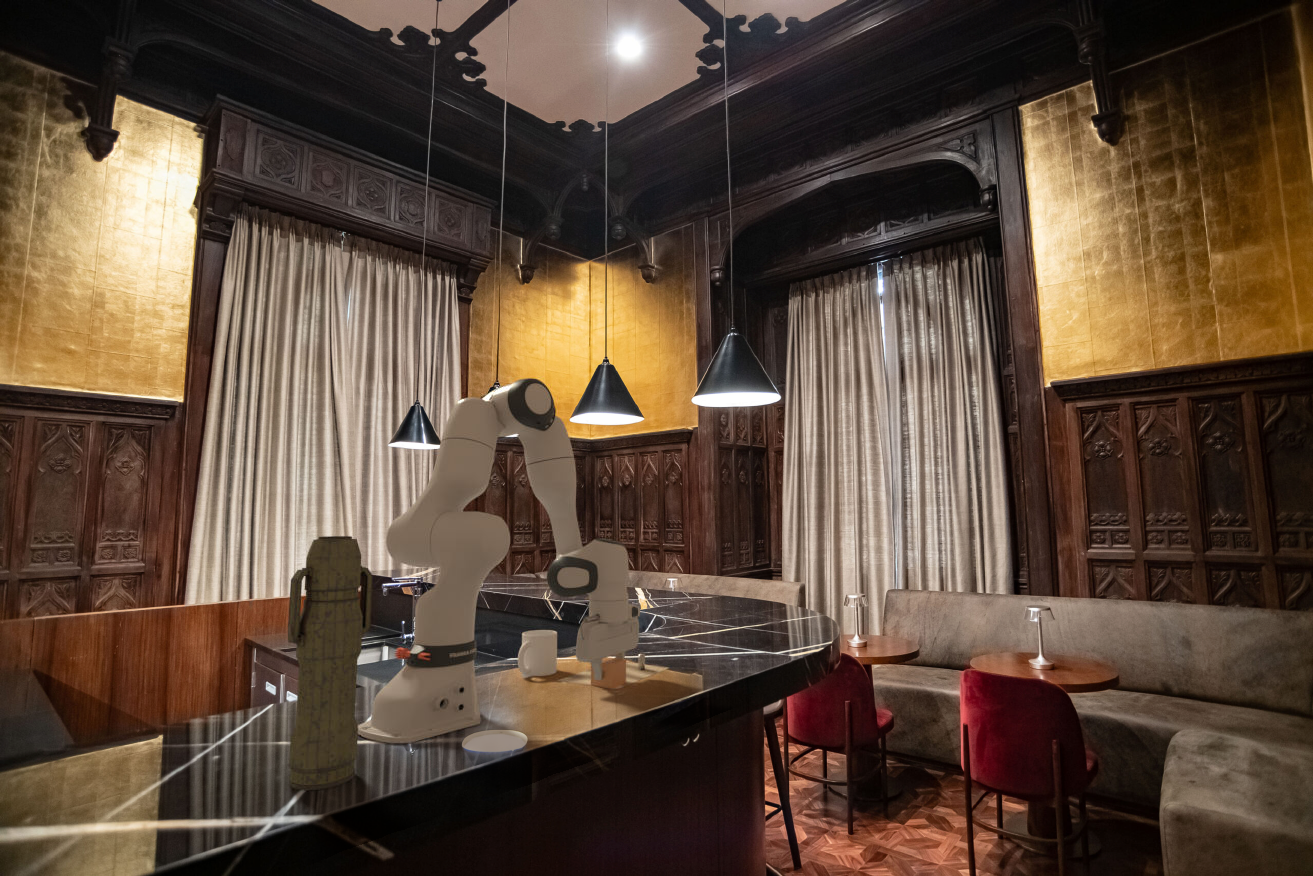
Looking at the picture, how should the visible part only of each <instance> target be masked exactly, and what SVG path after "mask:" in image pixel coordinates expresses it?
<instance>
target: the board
mask: <svg viewBox="0 0 1313 876" xmlns="http://www.w3.org/2000/svg"><path fill="white" fill-rule="evenodd" d="M665 670H670V667H666V666H657V665H651V664H650V665H649V664H645V670H638V663H634V662H627V661H626V683H625V684H622V685H620V686H617V687H615V688H608V689H611V690H615V691H616V690H619V689H621V688H623V687H626V686H628V685H631V684H634V683H636V682H638V681H640V680H643V679H646V678H649V677H651V676H653V675H656V674H658V673H661V672H663V671H665ZM556 682H562V683H569V684H575V685H576V684H577V685H583V686H589V687H593V686H592V685H591V668H590V669H587V670H583V671H581V672H578V673H575V674H572V675H570V676H566V677H562V678H561V679H558V680H556ZM594 687H597V688H600V687H599V686H594ZM601 688H603V689H607V688H606V687H601Z"/></svg>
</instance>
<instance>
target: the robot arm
mask: <svg viewBox="0 0 1313 876" xmlns="http://www.w3.org/2000/svg"><path fill="white" fill-rule="evenodd" d="M549 389H550V388H549V387H548V386H547V385H546V384H545V383H544V382H543V381H541V380H540V379H538V378H531V377H528V378H521V379H518V380H515V381H514V382H512V383H509V384H508V383H507V384H506V385H501V386H499V387H496V388H495V389H492V390H491V391H490V392H489V393H485V394H484V395H482V396H481V397H465V398H461V400H460V399H459V401H457V402H456V403H455V404H454V406H453V408H452V409H451V412H450V414H449V416H448V419H447V421H446V424H445V426H444V431H443V433H442V437H441V441H440V443H439V448H438V452H437V456H436V460H435V464H434V467H433V470H432V474H431V477H430V479H429V481H428V483H427V485H426V486H425V488H424V489H423V491H422V493H421V495H420V496H419V497H418V498H417V500H416V501H415V502H414V503H413V504H412V505H411V507H409V508H408V509H407V510H406V511H405V512H404V513H402V514H401V515H399V516H397V517H396V518H395V519H394V520H392V522H391V524H390V526H388V530H387V532H386V538H385V545H386V548H387V551H388V553H389V556H390V557H391V559H393V560H394V561H395V562H396V563H397V562H398V563H400V564H403V565H407V566H411V567H415V568H434V569H435V568H440V572H439V576H438V579H437V581H436V583H435V585H434V586H433V587H432V588H431V589H429V590H426V591H425V592H424V593H423V594H422V595H420V597H419V598H418V600H417V601H416V604H415V611H414V612H415V613H414V615H415V616H414V617H415V619H414V639H413V642H412V643H411V645H410V648H408V647H406V648H404V647H397V648H396V650H395V651H394V657H395V658H396V659H399V660H405V661H404V663H405V664H404V666H403V668H402V669H401V670H399V672H397V674H395V676H394V677H392V679H391V680H390V681H388V683H387V684H386V685H385V686H384V687H383V688H381V690H380V691H378V692H377V694H376V696H375V698H374V700H373V705H372V711H371V715H370V720H368V721H365V722H363V723H360V724H357V725H358V736H360V735H361V737H363V738H366V739H369V740H372V741H377V742H381V743H382V742H384V743H393V744H409V743H414V742H417V741H421V740H426V739H429V738H433V737H436V736H440V735H444V734H447V733H451V732H454V731H458V730H462V729H465V728H470V727H473V726H477V725H480V724H481V723H482V719H481V714H482V713H481V708H480V705H479V699H478V688H477V678H476V672H475V659H476V658H477V648H478V647H477V640H476V638H475V627H476V626H475V624H476V611H477V610H476V609H477V602H478V597H479V593H480V590H481V587H482V586H483V583H484V581H485V579H486V578H487V576H488V575H489V574H490V572H491V571H492V570H494V568H495V567H496V566H498V565H499V564H500V563H502V561H503V560H504V559H505V557H506V556H507V554H508V552H509V549H510V546H511V545H510V544H511V534H510V529H509V527H508V525H507V523H506V522H505V520H504V518H502V516H499V515H494V514H491V513H487V512H482V511H464V509H465V508H466V506H467V505H468V504H469V503H470V502H472V501H473V500H474V499H476V498H478V497H479V496H481V495H482V494H484V493H485V491H486V489H487V488H488V486H489V484H490V483H489V482H490V479H491V473H492V468H493V463H494V459H495V454H496V450H497V449H496V447H497V441H498V440H500V439H504V438H506V437H510V436H513V435H516V437H517V438H518V439H519V441H520V443H521V445H522V446H523V451H524V452H523V453H524V460H525V468H526V472H527V473H526V474H527V477H528V480H529V484H530V486H531V490H532V491H533V492H532V493H533V494H534V496H535V498H536V499H537V500H538V501H539V502H540V503H541V505H542V506H543V507H544V509H545V511H546V512H547V515H548V517H549V519H550V524H551V530H552V535H553V538H554V540H553V541H554V544H555V545H554V546H555V549H556V550H555V551H556V554H555V555H556V556H555V559H554V560H553V561H552V562H551V564H549V567H548V570H547V573H546V582H547V584H548V587H549V589H550V590H551V591H552V593H554V594H555V595H556V596H558V597H561V598H564V599H573V598H576V597H578V596H584V595H588V597H589V605H588V616H586V617H584V619H583V620H582V622H581V623H580V624H579V625H580V626H579V628H578V631H577V637H576V645H575V646H576V647H575V657H576V658H575V659H577V661H578V662H580V663H590V667H591V666H592V668H593V670H594V679H595V680H601V679H604V674H605V671H603V670H602V667H601V664H602V659H603V658H606V657H608V658H610V657H611V656H614V658H616V659H624V660H625V657H626V652H627V651H631V650H633V649H637V647H638V644H639V639H640V638H639V637H640V622H639V618H638V617H640V615H641V610H640V609H641V608H640V607H639V606H637V605H634V604H632V603H630V602H629V594H628V583H629V580H630V579H629V577H630V575H629V555H628V551H627V548H626V547H625V545H624V544H623V543H621V542H619V541H616V540H613V539H606V538H594V539H593V540H592V541H590V542H589V543H588V544H586V545H584V544H583V541H582V535H581V531H580V526H579V521H578V516H577V515H578V514H577V507H576V505H577V502H576V501H577V500H576V499H577V497H576V496H577V470H576V461H575V456H574V451H573V447H572V443H571V439H570V436H569V433H568V430H567V427H566V425H565V423H564V421H563V420H562V418H561V417H559V416H557V415H556V414H557V411H556V409H557V408H556V407H555V406H556V405H555V401H554V397H553V395H552V393H551V390H549Z"/></svg>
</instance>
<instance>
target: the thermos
mask: <svg viewBox="0 0 1313 876" xmlns="http://www.w3.org/2000/svg"><path fill="white" fill-rule="evenodd" d="M359 545H360V544H359V543H358V539H357V538H353V536H350V535H349V536H348V535H345V536H344V535H342V536H341V535H340V536H338V535H334V536H325V535H324V536H318V539H313V540H312V541H311V544H310V547H309V550H308V553H307V555H306V558H305V567H302V568H301V569H297V570H296V572H295V573H294V574H293V576H292V577H291V579H290V586H289V587H290V588H289V589H290V590H289V603H288V605H289V606H288V622H287V638H288V639H287V641H288V643H290V644H294V645H296V654H295V657H296V660H297V662H298V679H297V681H298V682H297V693H296V694H297V696H296V697H297V699H296V711H295V712H296V714H295V725H294V728H293V730H292V733H291V736H290V745H289V763H288V767H289V768H290V774H289V775H290V777H289V782H288V783H289V786H290V787H291V788H292V789H294V790H300V791H319V790H324V789H325V790H326V789H330V788H335V787H338V786H340V785H342V784H345V783H347V782H349V781H351V780H353V778H354V777H355V776H356V775H355V773H356V768H355V763H356V758H357V757H358V736H359V734H358V725H359V724H358V723H357V719H356V717H355V716H356V715H355V714H356V697H357V676H358V675H357V674H358V659H359V657H360V656H361V654H362V641H363V637H364V636H365V634H366V633H367V632H368V631H369V630H370V629H371V616H372V614H371V613H372V597H373V596H372V595H373V594H372V593H373V576H374V575H373V574H372V573H371V571H370V569H369V568H368V567H365V566H362V553H361V548H360V546H359ZM303 579H304V591H305V599H303V608H302V610H301V605H302V604H301V603H302V588H303V585H302V584H303ZM359 589H360V595H359Z"/></svg>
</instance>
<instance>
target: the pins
mask: <svg viewBox="0 0 1313 876" xmlns="http://www.w3.org/2000/svg"><path fill="white" fill-rule="evenodd" d="M637 654H638V657H637V658H638V660H637V664H638V670H645V665H646V654H645V653H637Z"/></svg>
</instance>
